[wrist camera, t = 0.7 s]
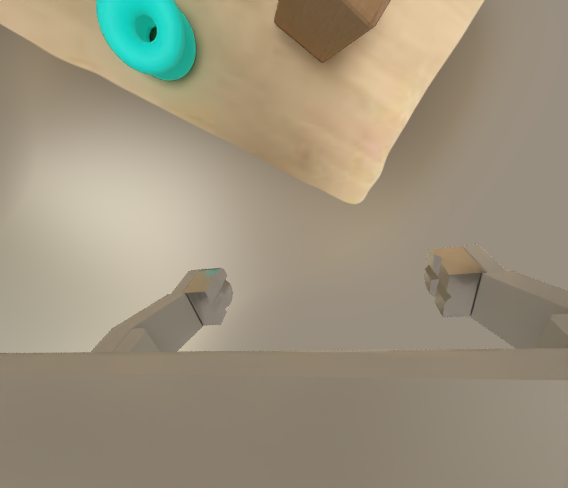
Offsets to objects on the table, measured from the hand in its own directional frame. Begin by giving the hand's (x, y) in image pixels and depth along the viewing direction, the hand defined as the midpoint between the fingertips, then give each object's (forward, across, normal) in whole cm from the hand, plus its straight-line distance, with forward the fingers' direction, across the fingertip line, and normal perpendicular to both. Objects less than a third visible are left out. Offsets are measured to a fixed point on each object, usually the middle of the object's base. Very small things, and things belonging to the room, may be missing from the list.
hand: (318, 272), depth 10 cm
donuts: (+38, +22, -18) cm, 48 cm away
